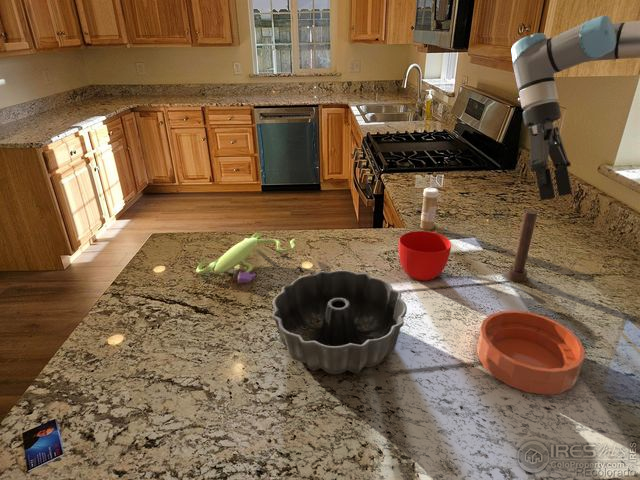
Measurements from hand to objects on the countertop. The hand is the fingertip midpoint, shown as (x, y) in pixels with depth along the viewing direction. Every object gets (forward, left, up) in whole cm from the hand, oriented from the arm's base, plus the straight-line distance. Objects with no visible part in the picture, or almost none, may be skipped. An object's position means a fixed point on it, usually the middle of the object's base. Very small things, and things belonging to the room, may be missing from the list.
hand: (557, 197), depth 98 cm
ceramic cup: (+27, +8, -24) cm, 37 cm away
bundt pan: (+33, +45, -24) cm, 61 cm away
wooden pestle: (+5, 0, -23) cm, 24 cm away
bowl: (-1, +32, -23) cm, 40 cm away
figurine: (+70, +27, -24) cm, 79 cm away
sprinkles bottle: (+35, -20, -24) cm, 46 cm away
